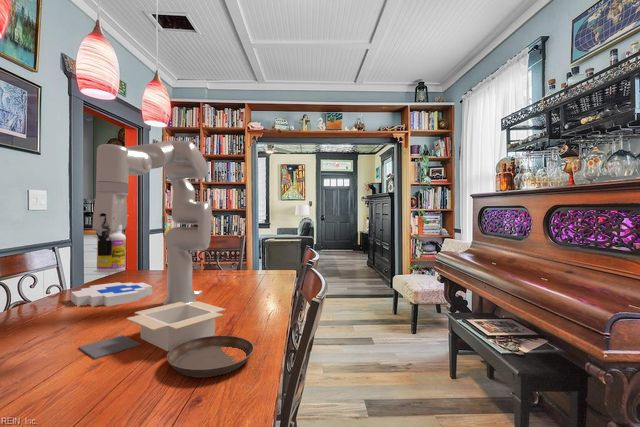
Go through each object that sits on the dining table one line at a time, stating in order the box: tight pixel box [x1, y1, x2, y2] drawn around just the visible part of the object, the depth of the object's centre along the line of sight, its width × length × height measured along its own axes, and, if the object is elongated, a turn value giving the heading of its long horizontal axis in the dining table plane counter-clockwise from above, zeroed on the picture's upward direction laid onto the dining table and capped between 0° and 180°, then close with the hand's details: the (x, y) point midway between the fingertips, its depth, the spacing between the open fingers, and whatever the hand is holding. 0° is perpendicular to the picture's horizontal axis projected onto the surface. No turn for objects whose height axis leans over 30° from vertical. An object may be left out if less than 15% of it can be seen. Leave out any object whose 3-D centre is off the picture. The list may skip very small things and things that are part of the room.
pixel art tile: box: [70, 281, 153, 307], centre depth 141 cm, size 28×4×28 cm
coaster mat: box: [78, 334, 141, 360], centre depth 88 cm, size 11×11×1 cm
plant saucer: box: [166, 335, 255, 378], centre depth 80 cm, size 21×21×3 cm
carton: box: [126, 300, 227, 352], centre depth 96 cm, size 23×23×7 cm
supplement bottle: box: [96, 225, 127, 274], centre depth 89 cm, size 7×7×13 cm
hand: (111, 253), depth 89 cm, fingers closed on supplement bottle, 6 cm apart
